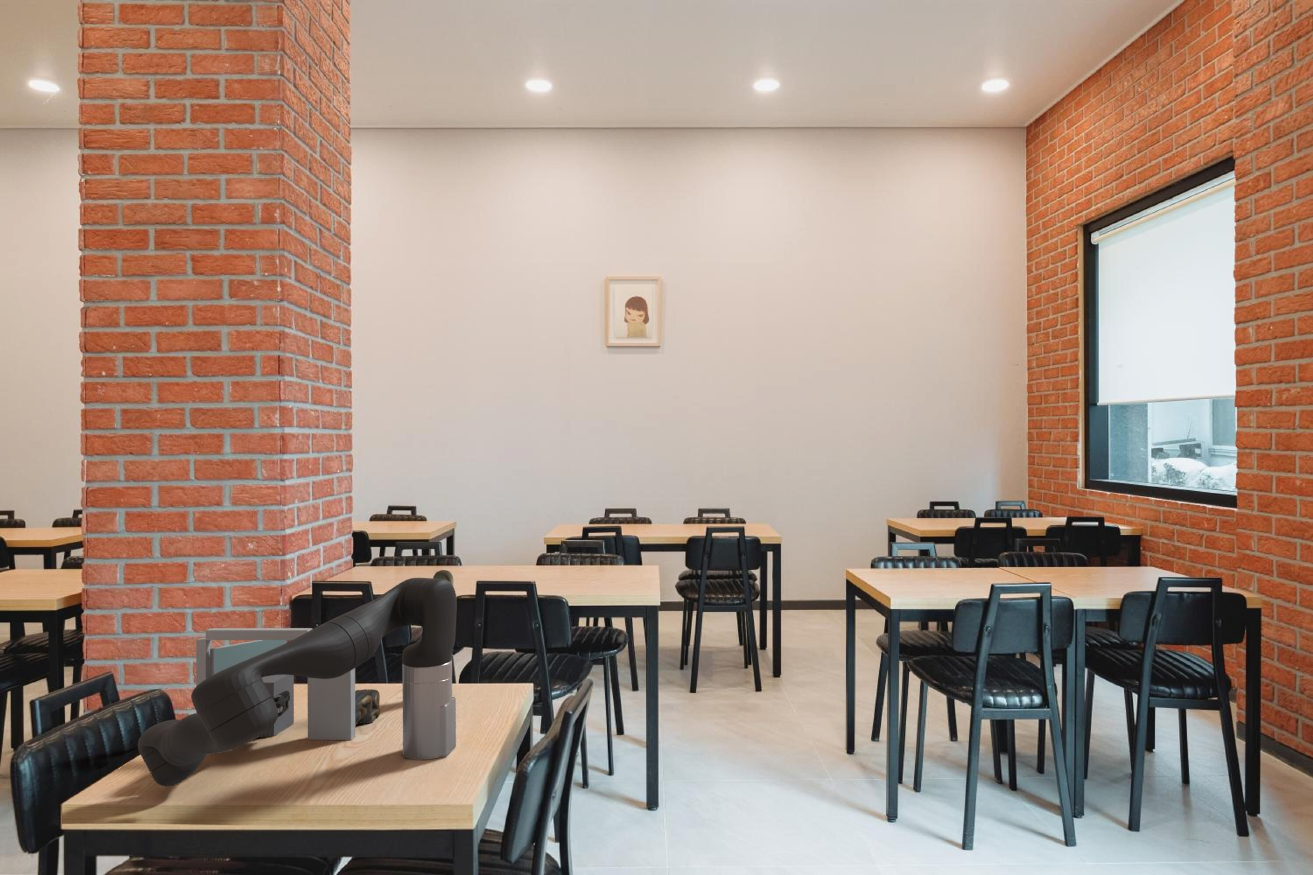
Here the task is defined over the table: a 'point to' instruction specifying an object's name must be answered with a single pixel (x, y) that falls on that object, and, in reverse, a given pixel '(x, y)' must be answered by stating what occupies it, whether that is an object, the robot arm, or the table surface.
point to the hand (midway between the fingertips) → (273, 695)
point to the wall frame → (325, 696)
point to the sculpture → (366, 705)
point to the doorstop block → (275, 687)
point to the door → (239, 653)
